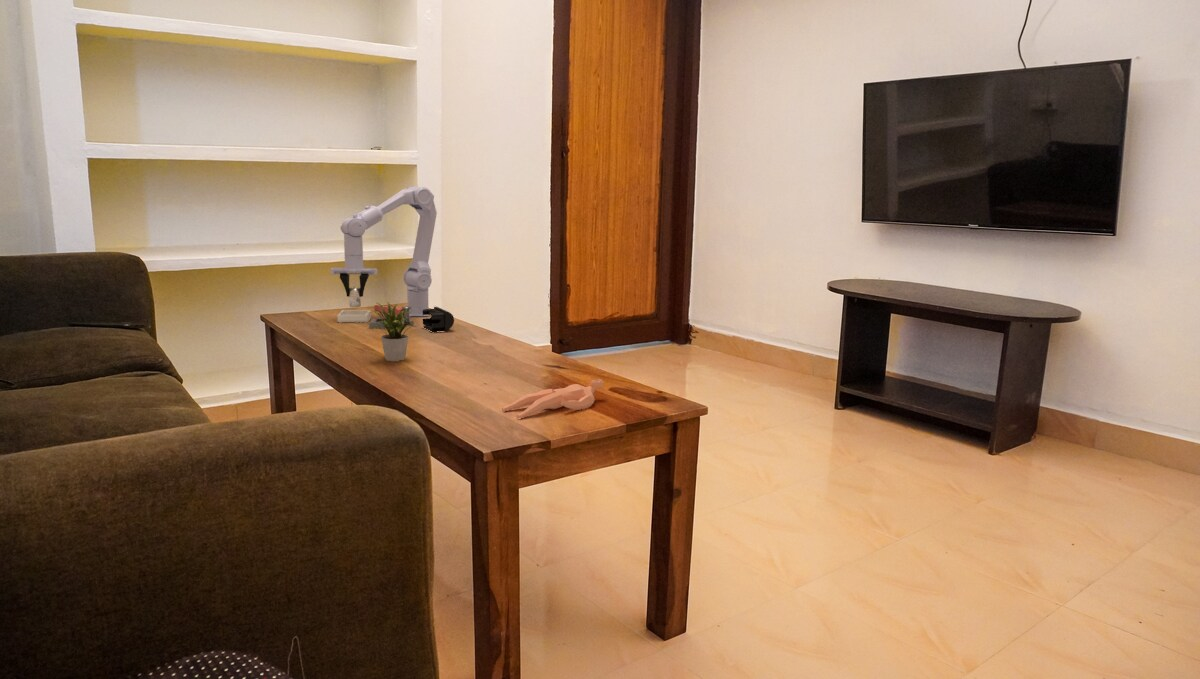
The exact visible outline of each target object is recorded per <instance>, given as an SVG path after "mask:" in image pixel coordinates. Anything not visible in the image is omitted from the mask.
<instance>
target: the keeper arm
mask: <svg viewBox="0 0 1200 679" xmlns="http://www.w3.org/2000/svg"><path fill="white" fill-rule="evenodd" d="M382 307H383V308H384V310H385V312H386V313H387V314H389V312H388V305H382ZM392 307H393V308H394V306H392ZM374 308H375V309H374ZM373 309H374V310H373V311H374V312H376V313H380V312H381V313H383V311H382V309H381V307H380V306H379V305H378V304H374V306H373ZM376 309H377V310H379V311H380V312H378V311H377V310H376ZM401 311H404V310H403V309H402V307H401V308H399V307H396V308H395V315H396V316H397V315H398V314H399V313H400V312H401ZM403 314H404V312H403ZM402 316H403V315H402Z"/></svg>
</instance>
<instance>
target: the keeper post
mask: <svg viewBox="0 0 1200 679" xmlns="http://www.w3.org/2000/svg"><path fill="white" fill-rule="evenodd" d="M407 307H408V306H407V305H406V306H401V308H402V309H403V310H404V312H405V310H406V309H407ZM410 309H411V307H408V309H407V312H406V314H405V315H404V317H403V319H405V318H406V319H407V320H406V319H405V320H404V322H402V326H403V325H404V324H405V323H409V322H412V323H411V324H409V325H408V326H414V321H413V320H411V317H412V316H409V315H408V314H409V310H410ZM407 315H408V316H407Z"/></svg>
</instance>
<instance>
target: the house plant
mask: <svg viewBox="0 0 1200 679" xmlns="http://www.w3.org/2000/svg"><path fill="white" fill-rule="evenodd" d="M374 303H375V304H376V305H379V306H380V307H381V309H382V311H383V312H380V311H379V310H377V309H376V310H377V311H378V312H377V311H374V313H376V315H378V317H379V318H381V319H382V318H385V320H386V319H387V320H386V321H387V322H386V321H381V322H380V323H382V324H383V325H384V326H383V325H382V326H383V327H385V328H384V329H386V331H387V332H388V334H387V333H386V334H383V335H381V338H380V339H381V343H382V349H383V354H384V359H386V360H385V361H387V362H400V361H399V360H402V361H404V359H405V360H406V355H407V349H408V348H407V347H408V341H409V335H408V334H405V333H406V332H407V331H408V330H409V329H410V328H413V327H415V325H409V324H411V323H412V322H409V323H405V324H404V325H402V322H404V320H405V319H406V318H405V319H404V318H403V317H404V315H405V314H406V312H407V309H408V307H409V306H408V307H407V309H406V310H405V312H404V311H401V312H400V313H399V314H398V315H395V308H397V306H398V302H396V304H395V305H394V306H392V305H391V304H390V302H389V301H387V306H388V312H389V313H386V312H385V310H384V308H383V307H382V306H383V305H381V304H380V303H378V302H377V301H375V302H374ZM393 307H394V308H393ZM369 308H371V309H375V308H374V307H371V306H369ZM417 308H419V307H417ZM415 309H416V308H415ZM415 309H414V310H415ZM412 311H413V310H412ZM412 311H411V312H412ZM403 312H404V314H403ZM411 312H410V313H411ZM379 313H380V314H379ZM410 313H409V314H410ZM409 314H408V315H409ZM402 315H403V316H402ZM408 315H407V316H408ZM381 316H382V317H381ZM382 320H383V319H382ZM406 320H407V319H406ZM375 325H376V324H375ZM379 326H381V325H377V326H374V328H372V330H374V329H381V330H382V328H380V327H379ZM408 326H409V327H408ZM377 327H379V328H377ZM407 327H408V328H407ZM405 328H407V329H406V330H405ZM403 330H405V331H404V332H403ZM402 332H403V334H402Z"/></svg>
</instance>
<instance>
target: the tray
mask: <svg viewBox="0 0 1200 679" xmlns="http://www.w3.org/2000/svg"><path fill="white" fill-rule="evenodd" d="M336 316H337V323H338V322H339V324H342V322H356V323H355V324H357V323H358V324H359V322H360V324H364V323H365V324H366V323H367V322H368V323H369V321H371V320H370V319H372V310H370V309H366V310H365V309H364V310H363V309H342V310H340V312H339V313H338V314H337V315H336ZM362 322H364V323H362ZM368 323H367V324H368Z"/></svg>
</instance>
